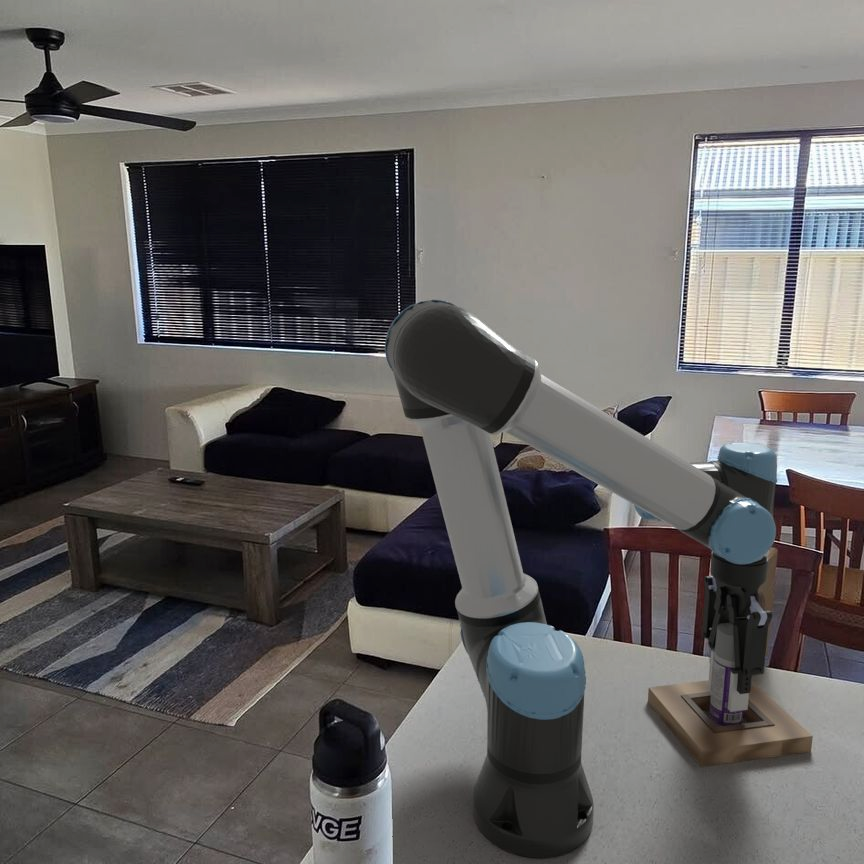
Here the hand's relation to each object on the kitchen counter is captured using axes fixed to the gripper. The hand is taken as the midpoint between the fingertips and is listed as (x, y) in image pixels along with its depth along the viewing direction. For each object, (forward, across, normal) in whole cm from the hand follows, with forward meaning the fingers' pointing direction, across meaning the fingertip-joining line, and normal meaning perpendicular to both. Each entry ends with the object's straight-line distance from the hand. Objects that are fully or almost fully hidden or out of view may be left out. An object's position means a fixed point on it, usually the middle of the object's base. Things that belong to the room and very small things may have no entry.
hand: (727, 698), depth 112 cm
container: (+4, 0, 0) cm, 4 cm away
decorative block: (+5, +16, -13) cm, 21 cm away
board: (+4, 0, 0) cm, 4 cm away
